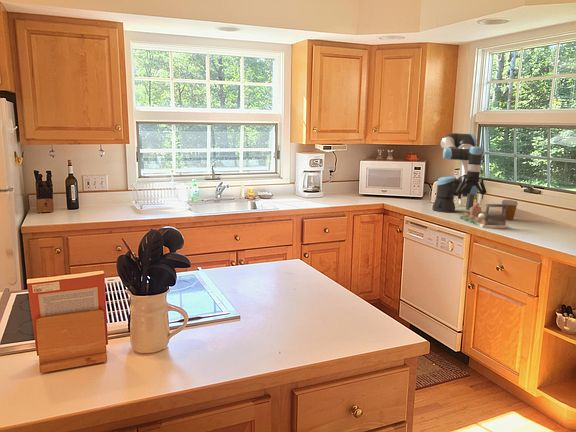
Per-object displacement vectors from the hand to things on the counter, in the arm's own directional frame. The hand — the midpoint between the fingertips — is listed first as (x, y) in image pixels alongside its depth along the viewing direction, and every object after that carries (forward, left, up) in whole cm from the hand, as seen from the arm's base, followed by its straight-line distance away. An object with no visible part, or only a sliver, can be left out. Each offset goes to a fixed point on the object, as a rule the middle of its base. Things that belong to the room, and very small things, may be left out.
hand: (469, 204), depth 307 cm
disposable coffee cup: (+6, +24, -9) cm, 26 cm away
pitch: (+17, 0, -9) cm, 19 cm away
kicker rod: (+4, 0, -7) cm, 8 cm away
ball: (+15, 0, -5) cm, 16 cm away
